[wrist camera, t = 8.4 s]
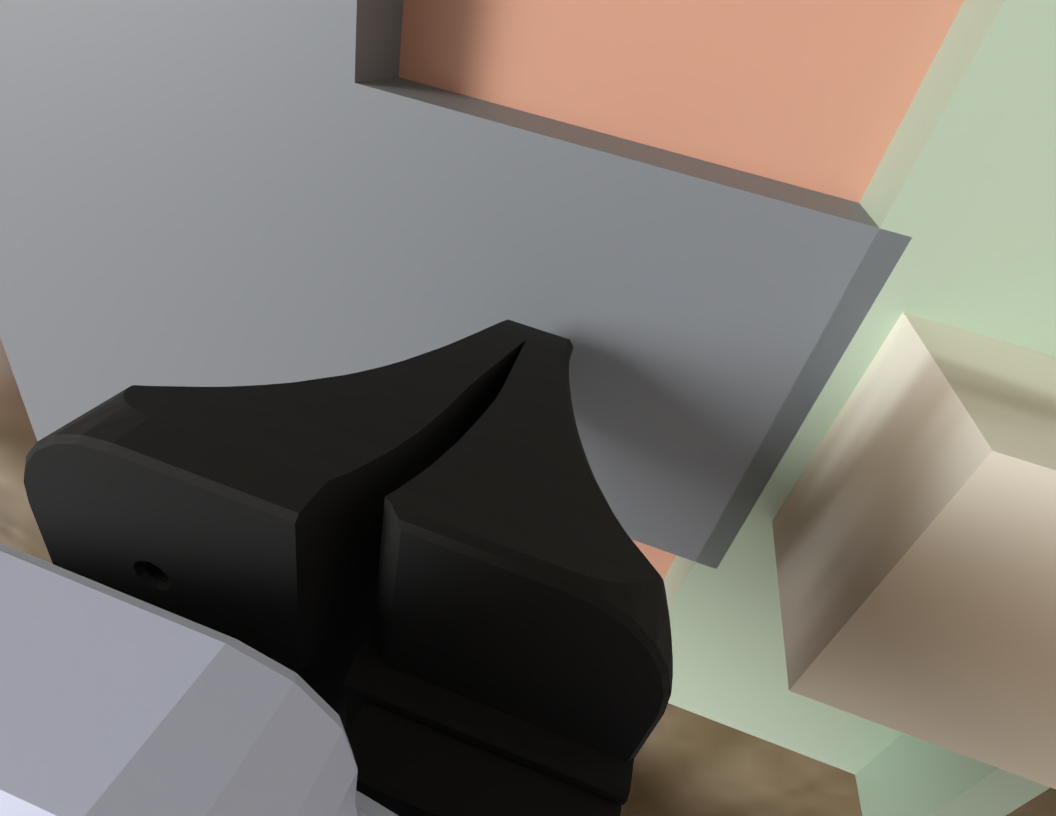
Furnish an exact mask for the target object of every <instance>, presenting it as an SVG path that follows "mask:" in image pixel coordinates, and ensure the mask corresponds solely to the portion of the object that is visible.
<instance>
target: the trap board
mask: <svg viewBox="0 0 1056 816" xmlns="http://www.w3.org/2000/svg"><path fill="white" fill-rule="evenodd" d="M903 312H905V313H908V314H912V315H915V316H919V317H922V318H926V319H929V320H932V321H936V322H939V323H943V324H946V325H950V326H953V327H956V328H960V329H963V330H967V331H970V332H974V333H977V334H981V335H984V336H987V337H991V338H994V339H998V340H1001V341H1005V342H1008V343H1011V344H1015V345H1018V346H1022V347H1025V348H1029V349H1032V350H1036V351H1039V352H1042V353H1046V354H1049V355H1053V356H1056V0H0V338H1V340H2V343H3V346H4V349H5V352H6V354H7V357H8V360H9V363H10V366H11V368H12V371H13V374H14V377H15V380H16V382H17V385H18V388H19V391H20V394H21V396H22V399H23V402H24V405H25V408H26V410H27V413H28V416H29V419H30V422H31V424H32V427H33V430H34V433H35V435H36V438H37V441H39V440H41V439H43V438H44V437H46V436H48V435H49V434H51V433H53V432H54V431H56V430H58V429H59V428H61V427H63V426H64V425H66V424H68V423H69V422H71V421H73V420H74V419H76V418H78V417H79V416H81V415H83V414H85V413H86V412H88V411H90V410H91V409H93V408H95V407H96V406H98V405H100V404H101V403H103V402H105V401H106V400H108V399H110V398H111V397H113V396H115V395H116V394H118V393H120V392H121V391H123V390H125V389H126V388H128V387H130V386H132V385H141V386H186V387H230V386H252V385H268V384H280V383H291V382H300V381H307V380H313V379H320V378H327V377H334V376H341V375H347V374H352V373H357V372H361V371H366V370H370V369H374V368H379V367H383V366H386V365H390V364H394V363H397V362H401V361H404V360H407V359H410V358H413V357H415V356H418V355H421V354H424V353H427V352H430V351H433V350H435V349H438V348H441V347H444V346H446V345H449V344H451V343H454V342H456V341H458V340H461V339H463V338H465V337H468V336H470V335H473V334H475V333H477V332H479V331H482V330H484V329H486V328H488V327H491V326H493V325H495V324H497V323H500V322H502V321H505V320H511V321H514V322H518V323H521V324H524V325H527V326H530V327H533V328H536V329H539V330H542V331H545V332H548V333H552V334H555V335H558V336H561V337H564V338H567V339H570V341H571V343H572V345H573V350H572V354H571V357H570V361H569V383H570V392H571V400H572V406H573V412H574V416H575V421H576V425H577V429H578V433H579V437H580V440H581V443H582V446H583V449H584V452H585V455H586V457H587V460H588V463H589V465H590V467H591V470H592V472H593V475H594V477H595V479H596V481H597V483H598V485H599V487H600V489H601V491H602V493H603V495H604V496H605V498H606V500H607V502H608V504H609V506H610V508H611V510H612V511H613V513H614V515H615V516H616V518H617V520H618V521H619V523H620V524H621V526H622V527H623V529H624V530H625V532H626V533H627V534H628V536H629V537H630V538H631V540H632V541H633V542H634V543H635V544H636V546H637V547H638V548H639V549H640V551H641V552H642V553H643V554H644V556H645V557H646V558H647V559H648V561H649V562H650V563H651V564H652V566H653V567H654V568H655V569H656V571H657V572H658V573H659V574H660V575H661V577H662V579H663V581H664V585H665V591H666V597H667V603H668V610H669V617H670V627H671V637H672V653H673V679H672V691H671V696H670V699H669V701H668V703H669V704H672V705H675V706H677V707H680V708H683V709H685V710H688V711H690V712H693V713H696V714H698V715H701V716H703V717H706V718H709V719H711V720H714V721H717V722H719V723H722V724H724V725H727V726H730V727H732V728H735V729H737V730H740V731H743V732H745V733H748V734H751V735H753V736H756V737H758V738H761V739H764V740H766V741H769V742H771V743H774V744H777V745H779V746H782V747H785V748H787V749H790V750H792V751H795V752H798V753H800V754H803V755H805V756H808V757H811V758H813V759H816V760H819V761H821V762H824V763H826V764H829V765H832V766H834V767H837V768H839V769H842V770H845V771H847V772H850V773H853V774H855V777H856V782H857V788H858V794H859V799H860V805H861V810H862V816H1006V815H1007V814H1009V813H1010V812H1012V811H1014V810H1015V809H1017V808H1018V807H1020V806H1022V805H1023V804H1025V803H1027V802H1028V801H1030V800H1031V799H1033V798H1035V797H1036V796H1038V795H1039V794H1041V793H1043V792H1044V791H1046V790H1048V789H1049V788H1051V787H1048V786H1045V785H1042V784H1040V783H1037V782H1034V781H1032V780H1029V779H1026V778H1024V777H1021V776H1018V775H1015V774H1013V773H1010V772H1007V771H1005V770H1002V769H999V768H997V767H994V766H991V765H988V764H986V763H983V762H980V761H978V760H975V759H972V758H970V757H967V756H964V755H961V754H959V753H956V752H953V751H951V750H948V749H945V748H943V747H940V746H937V745H934V744H932V743H929V742H926V741H924V740H921V739H918V738H916V737H913V736H910V735H908V734H905V733H902V732H899V731H897V730H894V729H891V728H889V727H886V726H883V725H881V724H878V723H875V722H872V721H870V720H867V719H864V718H862V717H859V716H856V715H854V714H851V713H848V712H845V711H843V710H840V709H837V708H835V707H832V706H829V705H827V704H824V703H821V702H818V701H816V700H813V699H810V698H808V697H805V696H802V695H800V694H797V693H794V692H791V691H789V687H788V677H787V667H786V657H785V647H784V637H783V627H782V616H781V606H780V596H779V586H778V576H777V566H776V556H775V546H774V536H773V526H772V520H773V519H774V517H775V515H776V514H777V512H778V511H779V509H780V507H781V506H782V504H783V503H784V501H785V499H786V498H787V496H788V495H789V493H790V491H791V490H792V488H793V487H794V485H795V483H796V482H797V480H798V479H799V477H800V475H801V474H802V472H803V471H804V469H805V467H806V466H807V464H808V463H809V461H810V459H811V458H812V456H813V455H814V453H815V451H816V450H817V448H818V447H819V445H820V444H821V442H822V440H823V439H824V437H825V436H826V434H827V432H828V431H829V429H830V428H831V426H832V424H833V423H834V421H835V420H836V418H837V416H838V415H839V413H840V412H841V410H842V408H843V407H844V405H845V404H846V402H847V400H848V399H849V397H850V396H851V394H852V392H853V391H854V389H855V388H856V386H857V384H858V383H859V381H860V380H861V378H862V376H863V375H864V373H865V372H866V370H867V368H868V367H869V365H870V364H871V362H872V360H873V359H874V357H875V356H876V354H877V352H878V351H879V349H880V348H881V346H882V344H883V343H884V341H885V340H886V338H887V337H888V335H889V333H890V332H891V330H892V329H893V327H894V325H895V324H896V322H897V321H898V319H899V317H900V316H901V314H902V313H903Z"/></svg>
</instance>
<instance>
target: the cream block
mask: <svg viewBox="0 0 1056 816" xmlns="http://www.w3.org/2000/svg"><path fill="white" fill-rule="evenodd" d="M772 526H773V536H774V546H775V556H776V566H777V576H778V586H779V596H780V606H781V616H782V627H783V637H784V647H785V657H786V667H787V677H788V687H789V691H791V692H794V693H797V694H800V695H802V696H805V697H808V698H810V699H813V700H816V701H818V702H821V703H824V704H827V705H829V706H832V707H835V708H837V709H840V710H843V711H845V712H848V713H851V714H854V715H856V716H859V717H862V718H864V719H867V720H870V721H872V722H875V723H878V724H881V725H883V726H886V727H889V728H891V729H894V730H897V731H899V732H902V733H905V734H908V735H910V736H913V737H916V738H918V739H921V740H924V741H926V742H929V743H932V744H934V745H937V746H940V747H943V748H945V749H948V750H951V751H953V752H956V753H959V754H961V755H964V756H967V757H970V758H972V759H975V760H978V761H980V762H983V763H986V764H988V765H991V766H994V767H997V768H999V769H1002V770H1005V771H1007V772H1010V773H1013V774H1015V775H1018V776H1021V777H1024V778H1026V779H1029V780H1032V781H1034V782H1037V783H1040V784H1042V785H1045V786H1048V787H1051V788H1053V789H1056V356H1053V355H1049V354H1046V353H1042V352H1039V351H1036V350H1032V349H1029V348H1025V347H1022V346H1018V345H1015V344H1011V343H1008V342H1005V341H1001V340H998V339H994V338H991V337H987V336H984V335H981V334H977V333H974V332H970V331H967V330H963V329H960V328H956V327H953V326H950V325H946V324H943V323H939V322H936V321H932V320H929V319H926V318H922V317H919V316H915V315H912V314H908V313H905V312H903V313H902V314H901V316H900V317H899V319H898V321H897V322H896V324H895V325H894V327H893V329H892V330H891V332H890V333H889V335H888V337H887V338H886V340H885V341H884V343H883V344H882V346H881V348H880V349H879V351H878V352H877V354H876V356H875V357H874V359H873V360H872V362H871V364H870V365H869V367H868V368H867V370H866V372H865V373H864V375H863V376H862V378H861V380H860V381H859V383H858V384H857V386H856V388H855V389H854V391H853V392H852V394H851V396H850V397H849V399H848V400H847V402H846V404H845V405H844V407H843V408H842V410H841V412H840V413H839V415H838V416H837V418H836V420H835V421H834V423H833V424H832V426H831V428H830V429H829V431H828V432H827V434H826V436H825V437H824V439H823V440H822V442H821V444H820V445H819V447H818V448H817V450H816V451H815V453H814V455H813V456H812V458H811V459H810V461H809V463H808V464H807V466H806V467H805V469H804V471H803V472H802V474H801V475H800V477H799V479H798V480H797V482H796V483H795V485H794V487H793V488H792V490H791V491H790V493H789V495H788V496H787V498H786V499H785V501H784V503H783V504H782V506H781V507H780V509H779V511H778V512H777V514H776V515H775V517H774V519H773V520H772Z"/></svg>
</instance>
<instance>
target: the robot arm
mask: <svg viewBox="0 0 1056 816" xmlns="http://www.w3.org/2000/svg"><path fill="white" fill-rule="evenodd" d="M572 350H573V345H572V343H571V341H570V339H567V338H564V337H561V336H558V335H555V334H552V333H548V332H545V331H542V330H539V329H536V328H533V327H530V326H527V325H524V324H521V323H518V322H514V321H511V320H505V321H502V322H500V323H497V324H495V325H493V326H491V327H488V328H486V329H484V330H482V331H479V332H477V333H475V334H473V335H470V336H468V337H465V338H463V339H461V340H458V341H456V342H454V343H451V344H449V345H446V346H444V347H441V348H438V349H435V350H433V351H430V352H427V353H424V354H421V355H418V356H415V357H413V358H410V359H407V360H404V361H401V362H397V363H394V364H390V365H386V366H383V367H379V368H374V369H370V370H366V371H361V372H357V373H352V374H347V375H341V376H334V377H327V378H320V379H313V380H307V381H300V382H291V383H280V384H268V385H252V386H230V387H186V386H141V385H132V386H130V387H128V388H126V389H125V390H123V391H121V392H120V393H118V394H116V395H115V396H113V397H111V398H110V399H108V400H106V401H105V402H103V403H101V404H100V405H98V406H96V407H95V408H93V409H91V410H90V411H88V412H86V413H85V414H83V415H81V416H79V417H78V418H76V419H74V420H73V421H71V422H69V423H68V424H66V425H64V426H63V427H61V428H59V429H58V430H56V431H54V432H53V433H51V434H49V435H48V436H46V437H44V438H43V439H41V440H39V441H37V442H36V444H35V445H34V446H33V448H32V449H31V450H30V452H29V453H28V454H27V456H26V464H25V473H24V484H25V488H26V492H27V496H28V500H29V504H30V506H31V509H32V511H33V514H34V516H35V519H36V522H37V524H38V527H39V529H40V532H41V534H42V537H43V539H44V542H45V544H46V547H47V549H48V552H49V555H50V557H51V560H52V562H53V564H51V563H49V562H46V561H44V560H41V559H39V558H36V557H34V556H31V555H29V554H27V553H24V552H22V551H19V550H17V549H14V548H12V547H9V546H7V545H4V544H2V543H0V816H620V812H621V805H624V803H625V802H626V801H627V799H628V795H629V792H630V786H631V778H632V770H633V762H634V758H635V756H636V755H637V753H638V752H639V750H640V749H641V747H642V746H643V744H644V743H645V741H646V740H647V738H648V737H649V735H650V734H651V732H652V731H653V729H654V728H655V726H656V725H657V723H658V722H659V720H660V719H661V717H662V716H663V714H664V712H665V709H666V707H667V704H668V701H669V699H670V696H671V691H672V679H673V653H672V637H671V627H670V617H669V610H668V603H667V597H666V591H665V585H664V581H663V579H662V577H661V575H660V574H659V573H658V572H657V571H656V569H655V568H654V567H653V566H652V564H651V563H650V562H649V561H648V559H647V558H646V557H645V556H644V554H643V553H642V552H641V551H640V549H639V548H638V547H637V546H636V544H635V543H634V542H633V541H632V540H631V538H630V537H629V536H628V534H627V533H626V532H625V530H624V529H623V527H622V526H621V524H620V523H619V521H618V520H617V518H616V516H615V515H614V513H613V511H612V510H611V508H610V506H609V504H608V502H607V500H606V498H605V496H604V495H603V493H602V491H601V489H600V487H599V485H598V483H597V481H596V479H595V477H594V475H593V472H592V470H591V467H590V465H589V463H588V460H587V457H586V455H585V452H584V449H583V446H582V443H581V440H580V437H579V433H578V429H577V425H576V421H575V416H574V412H573V406H572V400H571V392H570V383H569V361H570V357H571V354H572Z"/></svg>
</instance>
